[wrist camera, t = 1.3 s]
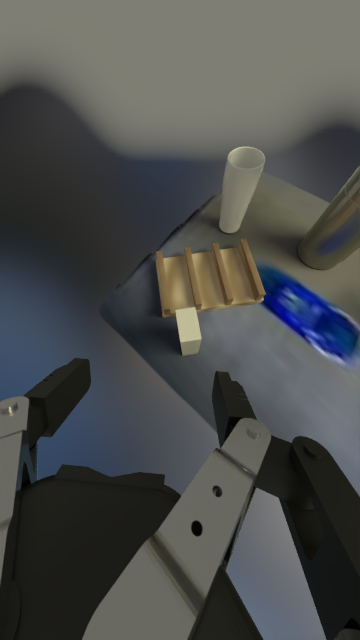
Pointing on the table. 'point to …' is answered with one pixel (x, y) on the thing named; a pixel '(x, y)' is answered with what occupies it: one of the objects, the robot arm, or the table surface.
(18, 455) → the robot arm
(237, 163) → the drinking glass
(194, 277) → the ridged wooden tray
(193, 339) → the cream rectangular block
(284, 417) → the table surface
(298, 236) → the table surface
